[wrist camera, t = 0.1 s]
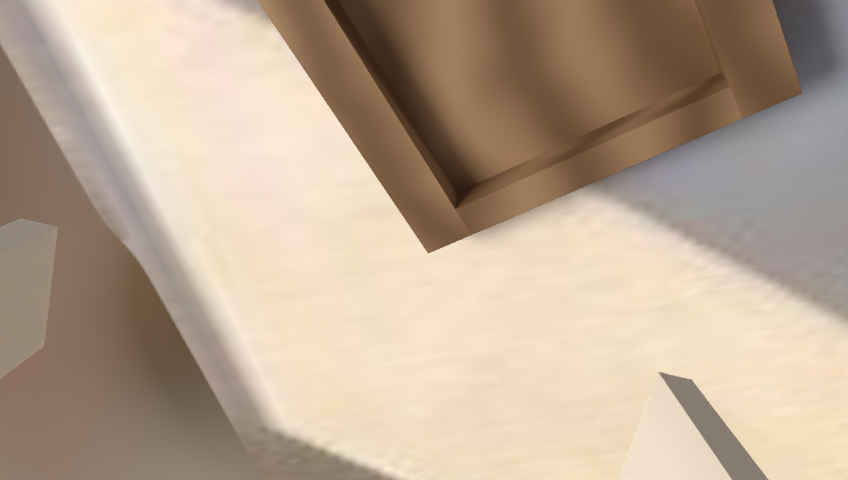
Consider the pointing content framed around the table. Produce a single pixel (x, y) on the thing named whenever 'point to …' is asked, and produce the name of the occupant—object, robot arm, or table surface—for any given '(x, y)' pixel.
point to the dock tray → (528, 91)
